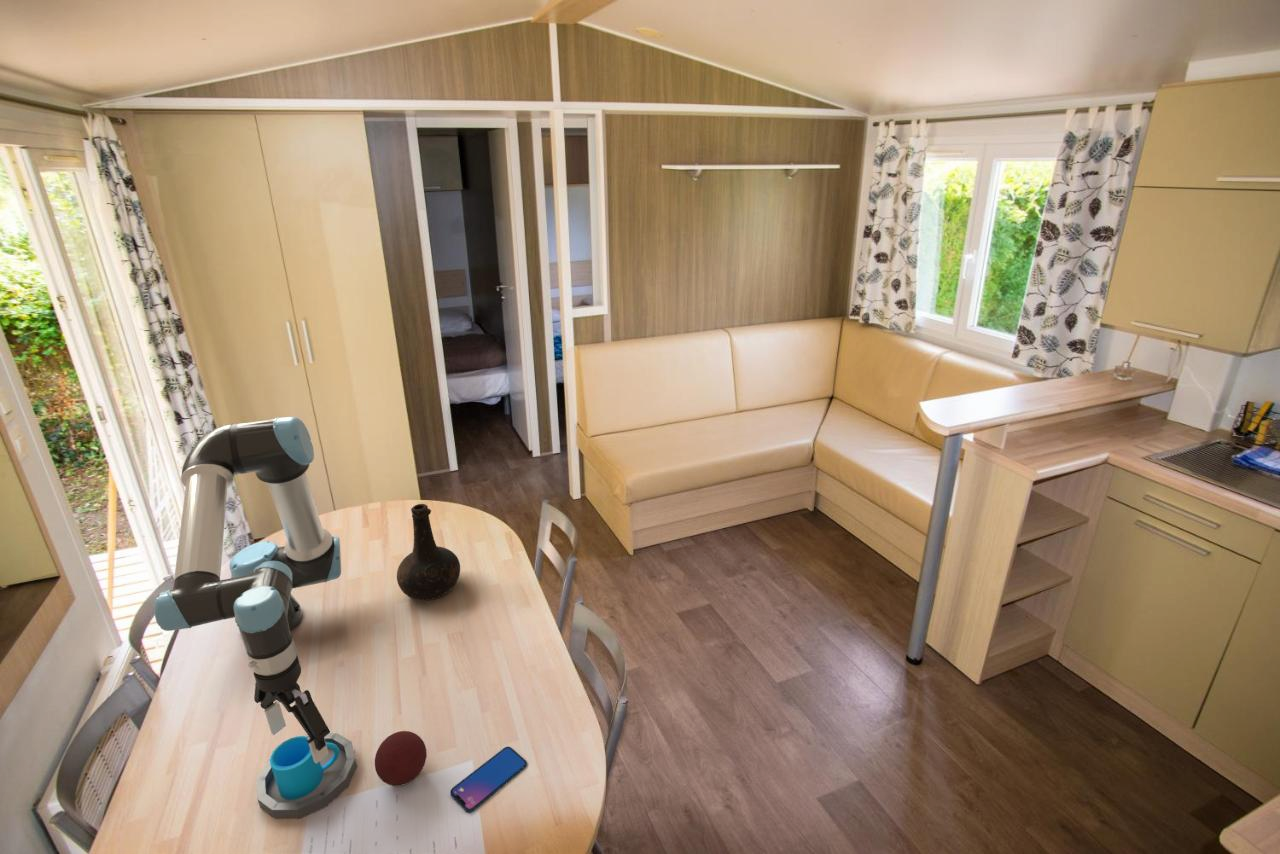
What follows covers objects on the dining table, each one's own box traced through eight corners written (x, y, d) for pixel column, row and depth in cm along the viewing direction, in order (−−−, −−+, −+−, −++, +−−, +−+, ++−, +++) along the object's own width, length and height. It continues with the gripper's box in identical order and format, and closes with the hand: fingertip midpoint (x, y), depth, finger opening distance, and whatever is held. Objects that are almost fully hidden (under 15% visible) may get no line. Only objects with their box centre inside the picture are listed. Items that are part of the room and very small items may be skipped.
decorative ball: (380, 804, 128) (371, 768, 124) (377, 764, 136) (369, 729, 132) (432, 786, 131) (425, 750, 127) (426, 748, 140) (420, 713, 136)
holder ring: (240, 793, 130) (237, 784, 129) (319, 729, 145) (317, 721, 144) (296, 834, 122) (293, 825, 121) (374, 762, 137) (372, 754, 136)
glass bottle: (405, 616, 180) (389, 530, 170) (396, 582, 195) (380, 501, 184) (469, 597, 188) (457, 514, 177) (455, 566, 203) (443, 487, 192)
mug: (281, 807, 127) (271, 777, 124) (276, 776, 133) (267, 747, 130) (346, 777, 133) (338, 748, 130) (339, 749, 139) (331, 721, 136)
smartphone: (529, 763, 136) (468, 813, 125) (529, 766, 136) (469, 816, 126) (507, 744, 140) (447, 790, 130) (508, 747, 140) (448, 793, 130)
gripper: (217, 652, 124) (244, 731, 133) (298, 702, 113) (323, 785, 122) (254, 628, 130) (279, 706, 139) (335, 674, 119) (356, 755, 128)
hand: (299, 743), depth 130 cm, fingers open, 13 cm apart
